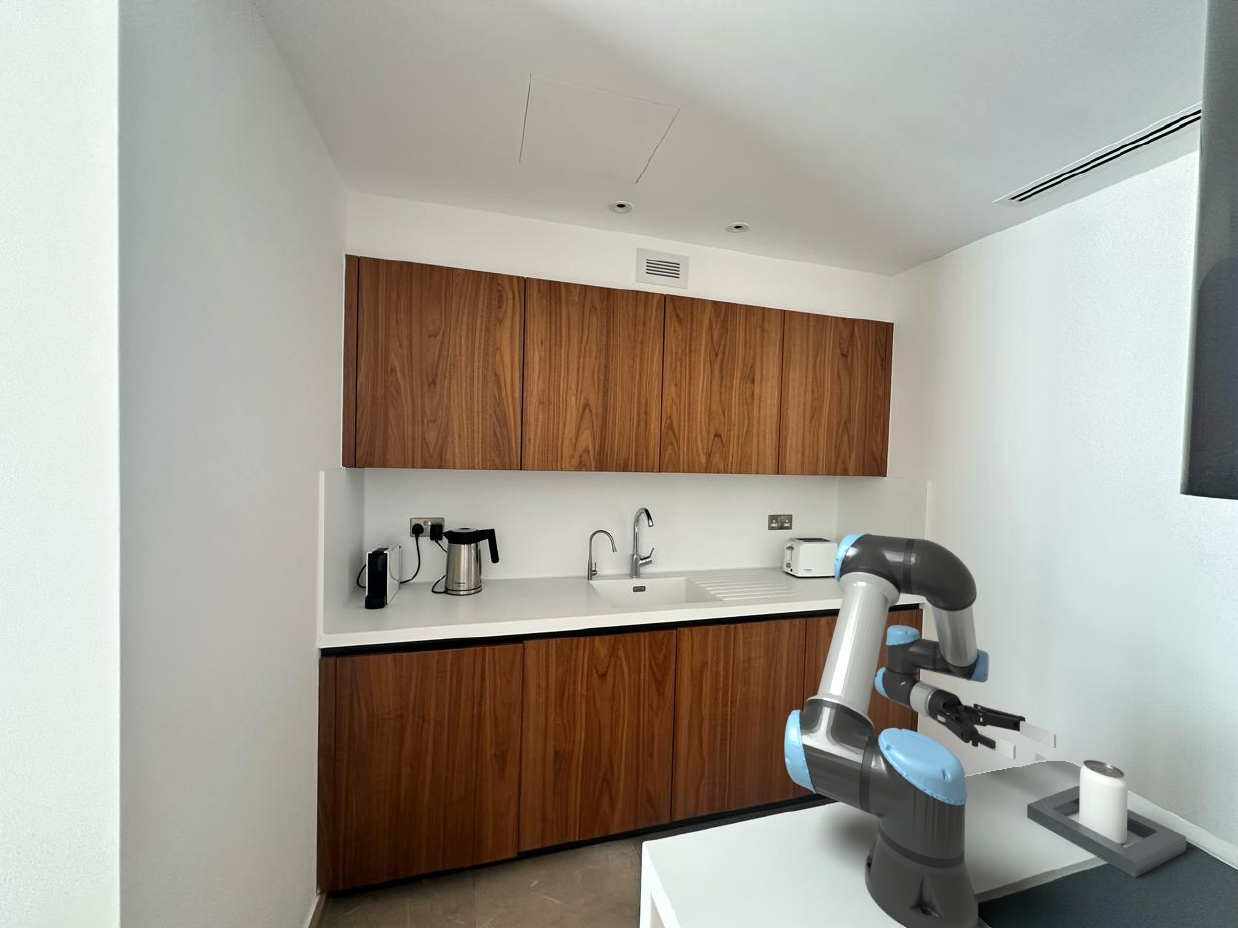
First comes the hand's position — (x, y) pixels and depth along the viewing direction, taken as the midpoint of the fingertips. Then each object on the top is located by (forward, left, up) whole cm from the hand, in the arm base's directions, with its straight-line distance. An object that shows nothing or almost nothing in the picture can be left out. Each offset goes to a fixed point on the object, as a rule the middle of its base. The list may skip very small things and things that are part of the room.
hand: (1035, 746), depth 107 cm
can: (0, -11, -11) cm, 15 cm away
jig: (0, -11, -10) cm, 15 cm away
